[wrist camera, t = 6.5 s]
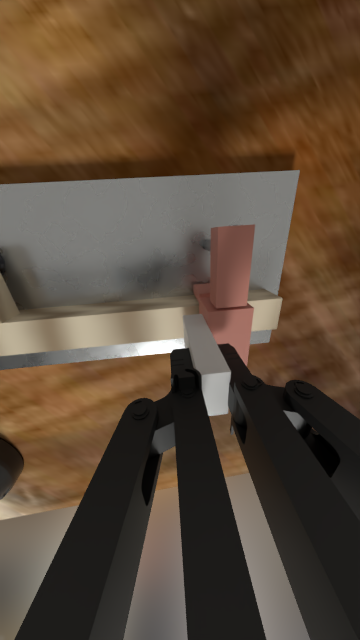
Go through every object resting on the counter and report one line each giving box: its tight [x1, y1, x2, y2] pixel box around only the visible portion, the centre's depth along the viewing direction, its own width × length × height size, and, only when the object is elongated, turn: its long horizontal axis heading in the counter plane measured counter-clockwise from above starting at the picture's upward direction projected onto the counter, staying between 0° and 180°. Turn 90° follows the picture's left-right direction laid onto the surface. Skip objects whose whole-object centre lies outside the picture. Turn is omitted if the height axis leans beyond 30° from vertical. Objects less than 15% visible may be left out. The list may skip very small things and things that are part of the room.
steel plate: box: [0, 170, 300, 370], centre depth 17 cm, size 30×16×1 cm, turn 93°
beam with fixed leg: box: [0, 273, 282, 356], centre depth 16 cm, size 27×8×3 cm, turn 93°
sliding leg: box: [193, 224, 255, 366], centre depth 14 cm, size 3×10×6 cm, turn 3°
